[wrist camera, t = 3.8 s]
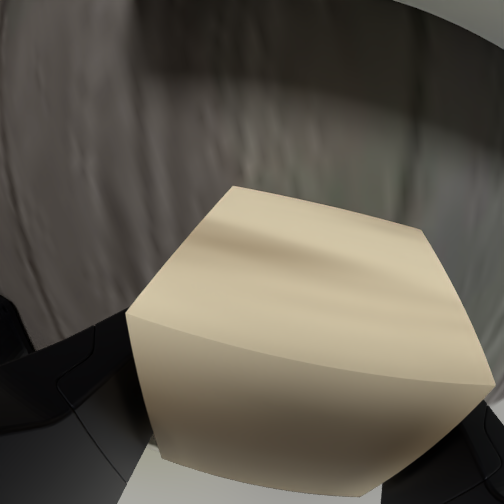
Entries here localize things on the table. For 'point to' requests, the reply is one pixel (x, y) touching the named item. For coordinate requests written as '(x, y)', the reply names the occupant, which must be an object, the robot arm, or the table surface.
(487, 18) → the low wall
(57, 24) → the table surface
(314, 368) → the maple block
